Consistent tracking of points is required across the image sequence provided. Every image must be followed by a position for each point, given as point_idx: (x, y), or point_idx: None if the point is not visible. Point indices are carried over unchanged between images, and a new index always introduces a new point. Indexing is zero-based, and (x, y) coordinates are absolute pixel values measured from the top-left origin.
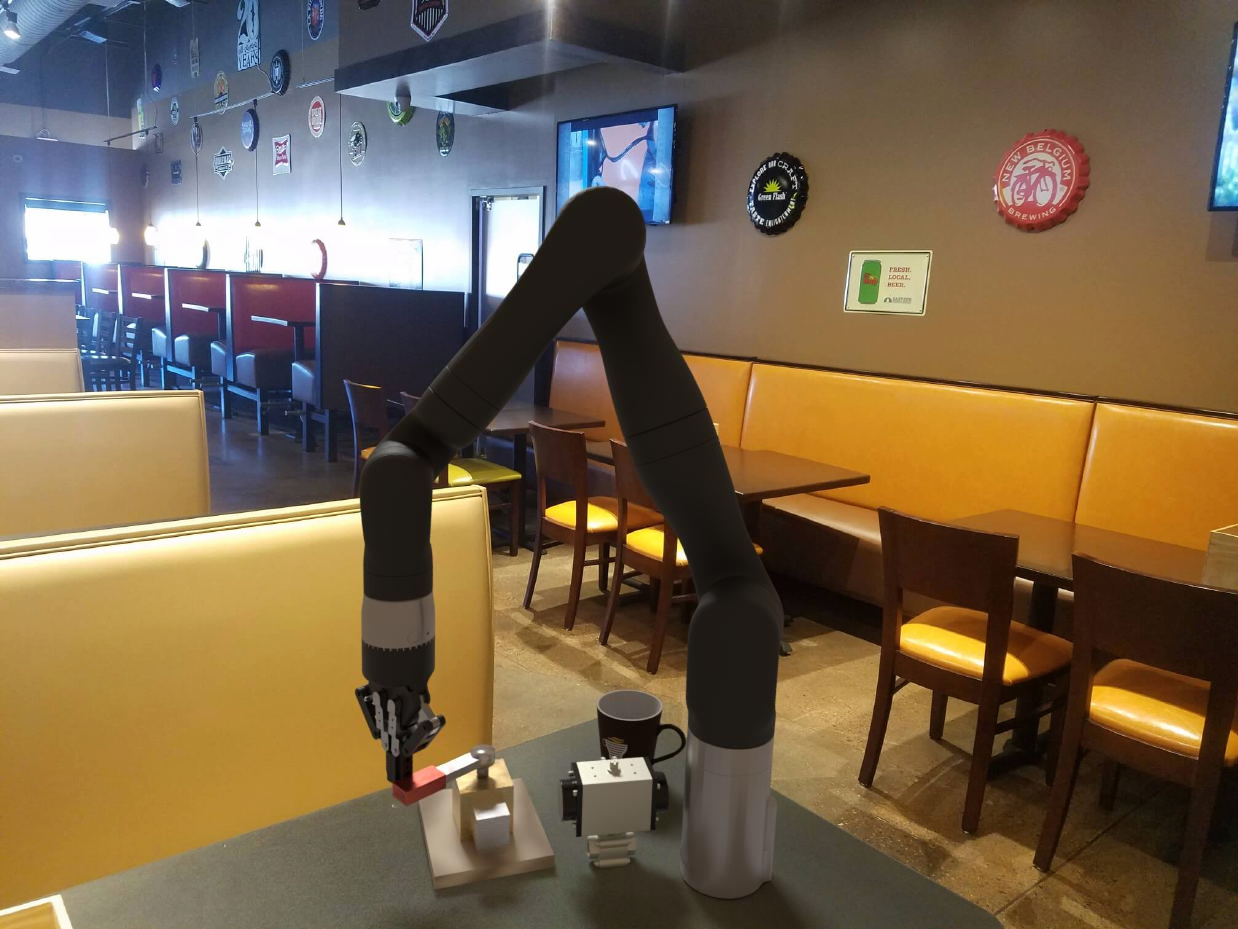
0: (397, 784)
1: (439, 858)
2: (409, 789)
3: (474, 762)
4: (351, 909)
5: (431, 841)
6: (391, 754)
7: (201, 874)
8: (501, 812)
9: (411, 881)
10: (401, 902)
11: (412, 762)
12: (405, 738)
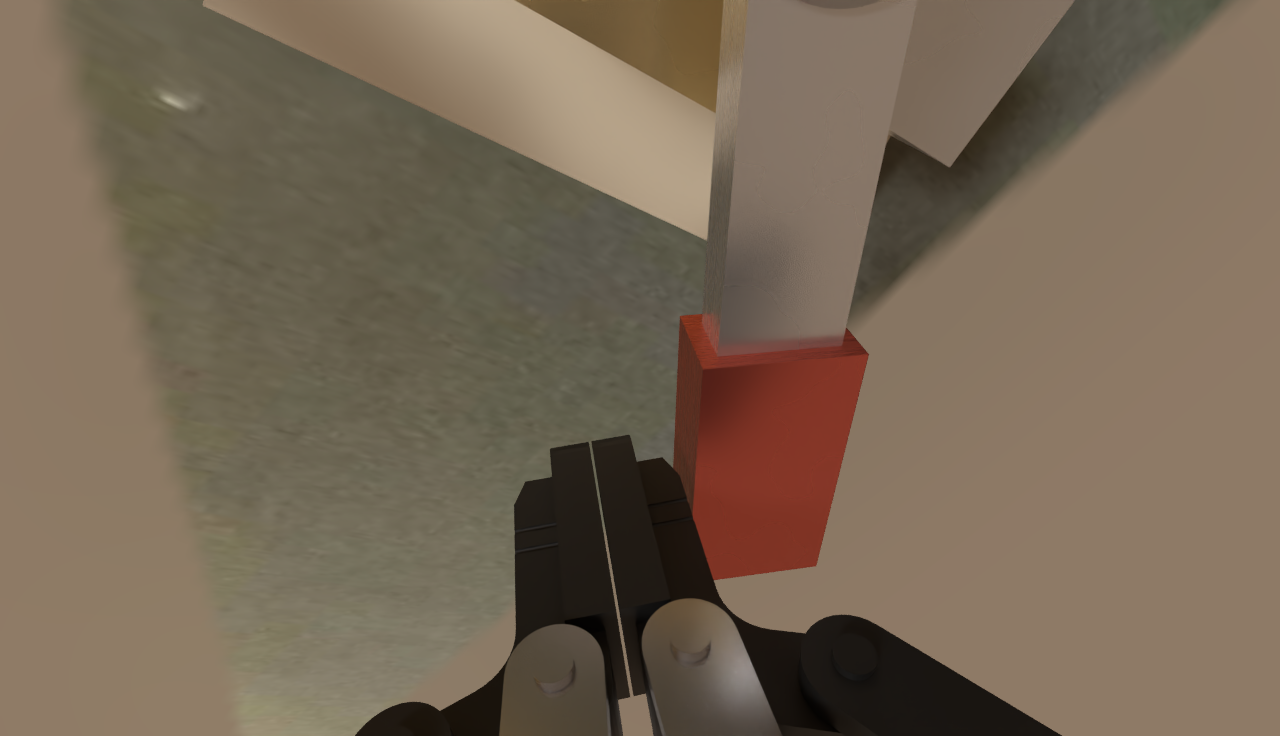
0: (724, 574)
1: None
2: (808, 549)
3: (900, 54)
4: (666, 446)
5: (624, 183)
6: (635, 692)
7: (301, 631)
8: (1032, 12)
9: (689, 290)
10: None
11: (698, 539)
12: (603, 675)
